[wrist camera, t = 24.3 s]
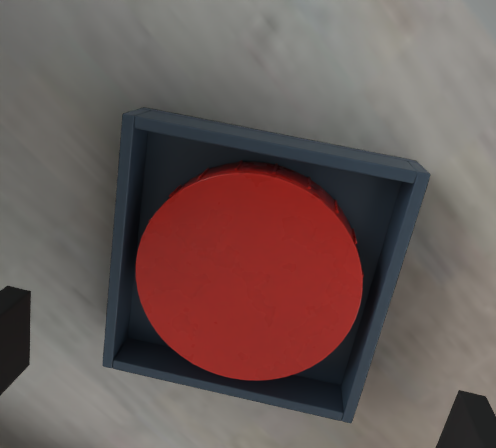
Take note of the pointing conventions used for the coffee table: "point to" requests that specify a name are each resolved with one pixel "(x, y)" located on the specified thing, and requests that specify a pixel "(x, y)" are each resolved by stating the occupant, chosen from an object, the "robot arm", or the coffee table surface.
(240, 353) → the lid
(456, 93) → the coffee table surface
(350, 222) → the tray
